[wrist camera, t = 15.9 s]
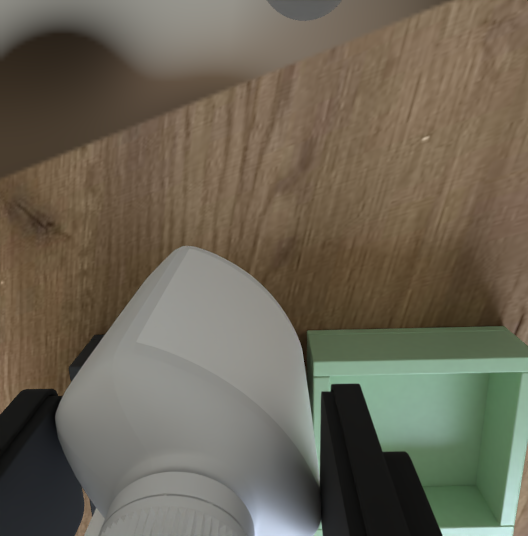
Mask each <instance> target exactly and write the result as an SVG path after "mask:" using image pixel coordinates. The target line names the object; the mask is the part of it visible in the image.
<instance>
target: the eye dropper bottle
mask: <svg viewBox="0 0 528 536" xmlns="http://www.w3.org/2000/svg"><path fill="white" fill-rule="evenodd" d="M55 422H56V428H57V435H58V439H59V441H60V444H61V446H62V449H63V451H64V454H65V456H66V458H67V460H68V462H69V464H70V466H71V468H72V470H73V472H74V474H75V476H76V478H77V479H78V481H79V483H80V484H81V486H82V487H83V489H84V491H85V492H86V494H87V495H88V497H89V498H90V500H91V501H92V503H93V504H94V506H95V507H96V508H97V510H98V511H99V512H100V513H101V515H102V516H103V517H104V519H105V520H104V522H103V525H102V527H101V530H100V532H99V535H98V536H314V534H315V533H316V531H317V529H318V528H319V525H320V522H321V495H320V477H319V468H318V459H317V452H316V444H315V437H314V429H313V422H312V415H311V407H310V400H309V393H308V386H307V379H306V372H305V365H304V358H303V351H302V347H301V344H300V341H299V338H298V336H297V334H296V332H295V329H294V328H293V326H292V324H291V322H290V320H289V318H288V317H287V315H286V313H285V312H284V310H283V309H282V308H281V306H280V305H279V303H278V302H277V301H276V300H275V298H274V297H273V296H272V295H271V294H270V293H269V292H268V290H267V289H266V288H265V287H264V286H263V285H262V284H260V283H259V282H258V281H257V280H256V279H255V278H254V277H252V276H251V275H250V274H248V273H247V272H246V271H244V270H243V269H241V268H240V267H238V266H237V265H235V264H233V263H232V262H230V261H228V260H226V259H224V258H223V257H220V256H218V255H216V254H214V253H212V252H209V251H207V250H204V249H201V248H198V247H194V246H182V247H180V248H178V249H176V250H174V251H173V252H172V253H171V254H170V255H169V256H168V257H167V258H166V259H165V260H164V261H163V262H162V263H161V264H160V265H159V266H158V267H157V268H156V269H155V270H154V271H153V272H152V273H151V274H150V275H149V277H148V278H147V279H146V280H145V281H144V283H143V284H142V285H141V287H140V288H139V289H138V291H137V292H136V293H135V295H134V296H133V297H132V299H131V300H130V301H129V303H128V304H127V306H126V307H125V308H124V310H123V311H122V312H121V314H120V315H119V316H118V318H117V319H116V320H115V322H114V323H113V325H112V326H111V327H110V329H109V330H108V331H107V333H106V334H105V336H104V337H103V338H102V340H101V341H100V342H99V344H98V345H97V347H96V348H95V349H94V351H93V352H92V353H91V355H90V356H89V358H88V359H87V360H86V362H85V363H84V365H83V366H82V367H81V369H80V370H79V372H78V373H77V375H76V376H75V378H74V379H73V381H72V382H71V383H70V385H69V386H68V388H67V389H66V391H65V393H64V395H63V397H62V399H61V401H60V403H59V406H58V408H57V411H56V415H55Z"/></svg>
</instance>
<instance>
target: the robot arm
mask: <svg viewBox="0 0 528 536" xmlns="http://www.w3.org/2000/svg"><path fill="white" fill-rule="evenodd" d="M62 397H63V396H58V394H57V392H56V391H55V390H54V389H26V390H23V391H21V392H20V393H19V394H18V395H17V396H16V398H15V399H14V400H13V401H12V402H11V403H10V404H9V405H8V407H7V408H6V409H5V410H4V411H3V412H2V413H1V414H0V536H75V534H76V532H77V529H78V527H79V525H80V523H81V520H82V517H83V513H84V498H83V492H82V487H81V484H80V483H79V481H78V479H77V478H76V476H75V474H74V472H73V470H72V468H71V466H70V464H69V462H68V460H67V458H66V456H65V454H64V451H63V449H62V446H61V444H60V441H59V439H58V435H57V428H56V422H55V415H56V411H57V408H58V406H59V403H60V401H61V399H62ZM320 495H321V525H322V533H323V536H443V535H442V533H441V530H440V528H439V526H438V523H437V521H436V518H435V516H434V513H433V511H432V509H431V506H430V504H429V501H428V499H427V496H426V494H425V492H424V489H423V487H422V484H421V482H420V479H419V477H418V475H417V472H416V470H415V467H414V465H413V462H412V460H411V458H410V456H409V454H408V453H407V452H405V451H395V452H383V451H382V448H381V445H380V442H379V439H378V436H377V433H376V430H375V427H374V425H373V422H372V419H371V416H370V413H369V410H368V407H367V404H366V401H365V398H364V395H363V392H362V389H361V386H360V384H332V385H331V391H322V392H321V425H320Z"/></svg>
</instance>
